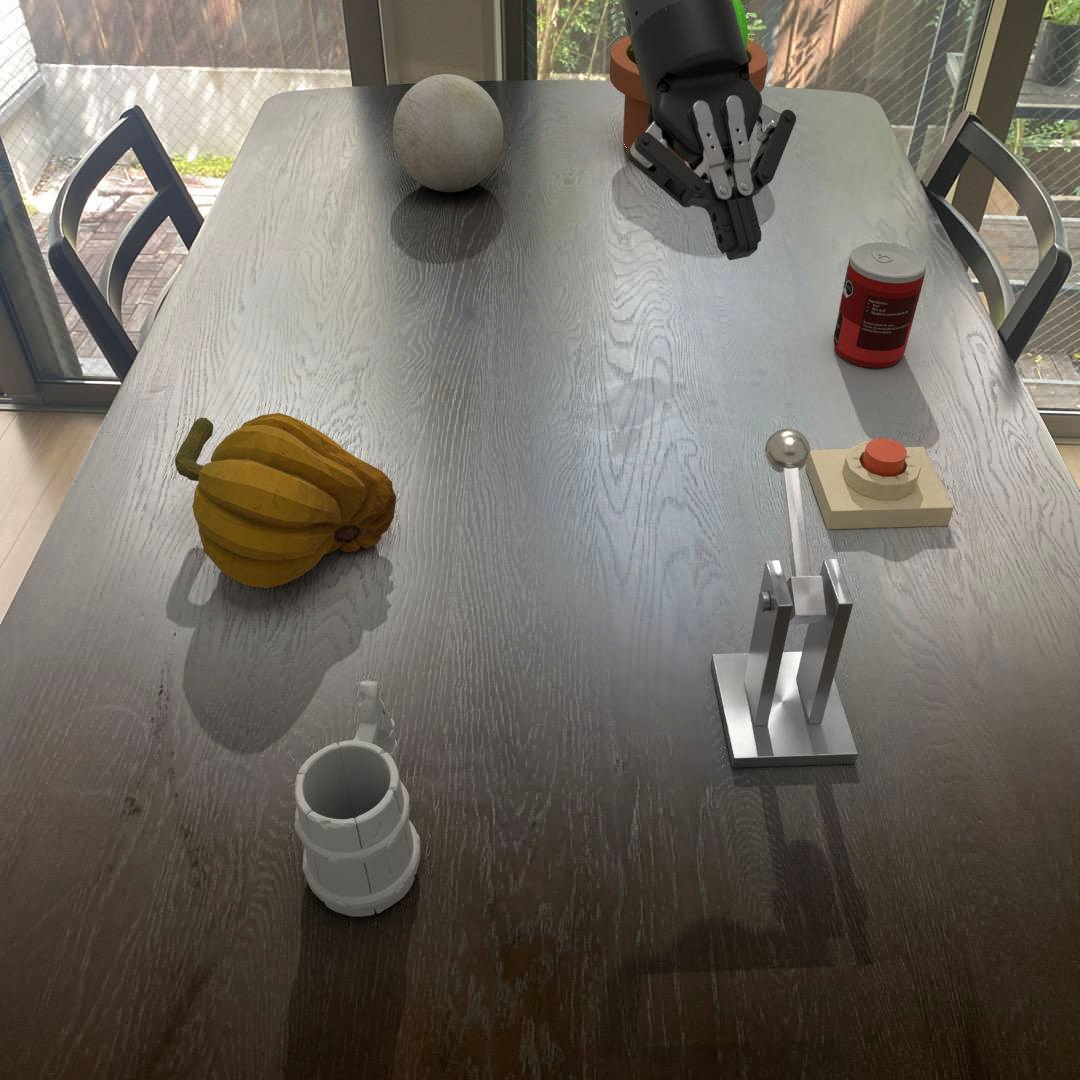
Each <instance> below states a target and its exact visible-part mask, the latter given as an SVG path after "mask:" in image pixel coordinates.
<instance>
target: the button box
mask: <svg viewBox="0 0 1080 1080" xmlns="http://www.w3.org/2000/svg"><path fill="white" fill-rule="evenodd" d="M870 441H871V440H864V441H862V442H860V443H857V444H855V445H853V446H851V447H850V448H834V449H833V448H832V449H831V448H830V449H827V448H826V449H810V457H809V460H808V462H807V463H806V465H805V470H806V473H807V476H808V479H809V481H810V484H811V487H812V490H813V492H814V496H815V498H816V501H817V505H818V507H819V510H820V513H821V515H822V518H823V521H824V523H825V527H826V529H827V530H851V529H854V530H855V529H885V528H886V529H888V528H913V527H914V528H917V527H919V528H921V527H948V526H949V524H950V520H951V517H952V515H953V513H954V509H955V507H954V505H953V502H952V501H951V498H950V497H949V494H948V492H947V491H946V489H945V486H944V485H943V482H942V480H941V479H940V476H939V475H938V473H937V471H936V468H935V467H934V465H933V463H932V461H931V459H930V457H929V454H928V453H927V451H926V449H925V446H904V447H905V449H906V451H907V456H906V459H905V463H904V467H903V470H902V472H901V473H900V474H899V475H897V476H894V477H882V476H879V475H875V474H872V473H870V472H869V471H867V470H866V469H865V468H864V467H863V464H862V461H863V457H864V452H865V448H866V445H867V443H868V442H870Z"/></svg>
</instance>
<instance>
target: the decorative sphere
mask: <svg viewBox="0 0 1080 1080" xmlns="http://www.w3.org/2000/svg"><path fill="white" fill-rule="evenodd" d="M504 138H505V137H504V124H503V119H502V116H501V112H500V110H499V108H498V105H496V103H495V100H494V99H493V98H492V97H491V95H490V94H489V93H488V92H487V91H486V90H485V88H483V87H482V86H481V85H479V84H478V83H477V82H475V81H473V80H471V79H470V78H467V77H464V76H462V75H459V74H458V75H457V74H451V73H450V74H448V73H442V74H436V75H432V76H429V77H425V78H424V79H421V80H420V81H418V82H417V83H415V84H414V85H412V86H411V88H410V89H408V90H407V92H406V93H405V94H404V95H403V97H402V98H401V100H400V101H399V103H398V105H397V107H396V110H395V113H394V116H393V122H392V142H393V146H394V150H395V153H396V155H397V158H398V160H399V163H401V165H402V167H403V169H404V170H405V171H406V172H407V173H408V175H409V176H411V178H413V179H414V180H415V181H416V182H418V183H419V184H421V185H422V186H424V187H426V188H428V189H430V190H434V191H437V192H440V193H441V192H442V193H458V192H462V191H466V190H469V189H471V188H473V187H475V186H477V185H479V184H481V182H483V181H484V180H485V179H486V178H487V177H488V176H489V175H490V174H491V172H492V171H493V170H494V168H495V167H496V166H497V163H498V161H499V160H500V156H501V153H502V149H503V146H504V145H503V144H504Z"/></svg>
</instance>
